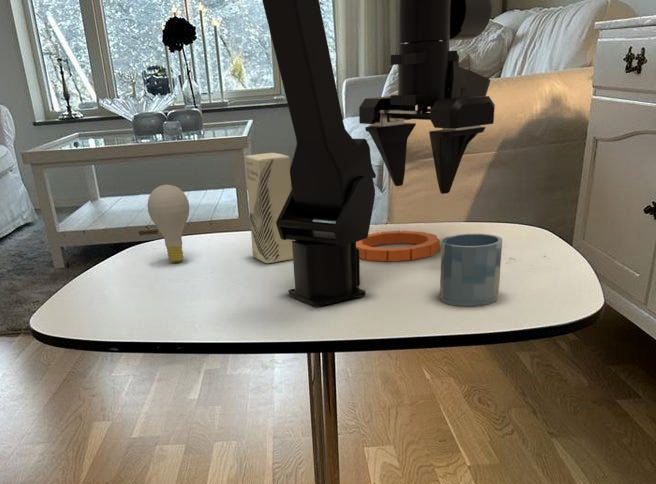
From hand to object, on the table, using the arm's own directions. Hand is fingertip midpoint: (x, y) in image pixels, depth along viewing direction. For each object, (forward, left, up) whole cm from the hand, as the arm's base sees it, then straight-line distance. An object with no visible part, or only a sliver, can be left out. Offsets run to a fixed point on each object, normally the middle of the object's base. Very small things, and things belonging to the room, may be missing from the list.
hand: (420, 189), depth 91 cm
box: (-14, +13, -8) cm, 21 cm away
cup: (-7, -18, -8) cm, 21 cm away
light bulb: (-25, +21, -8) cm, 34 cm away
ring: (0, +5, -8) cm, 10 cm away
